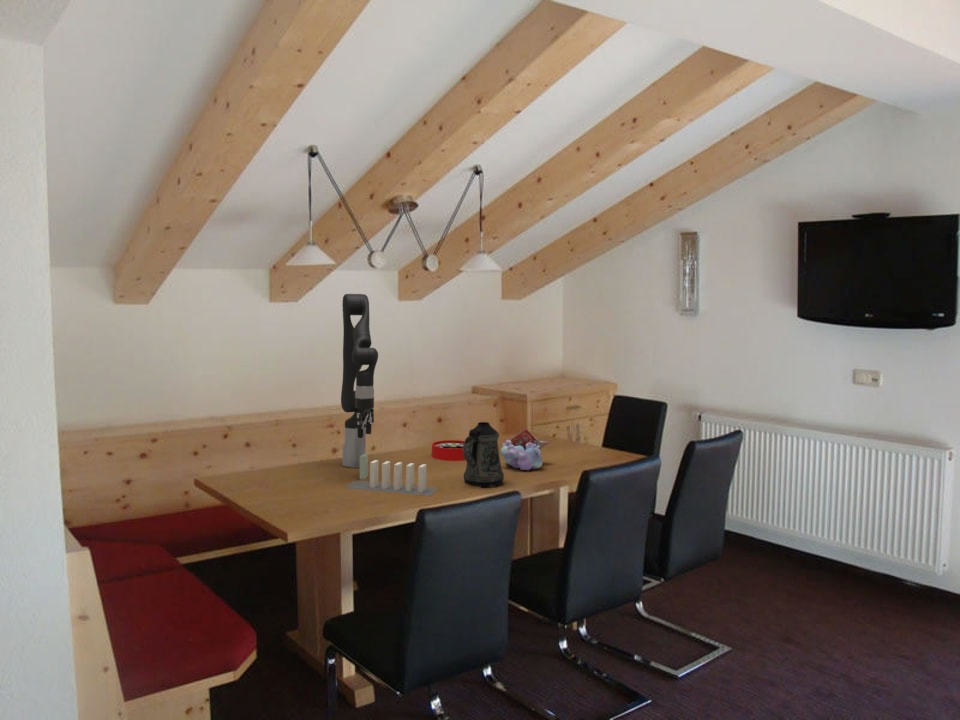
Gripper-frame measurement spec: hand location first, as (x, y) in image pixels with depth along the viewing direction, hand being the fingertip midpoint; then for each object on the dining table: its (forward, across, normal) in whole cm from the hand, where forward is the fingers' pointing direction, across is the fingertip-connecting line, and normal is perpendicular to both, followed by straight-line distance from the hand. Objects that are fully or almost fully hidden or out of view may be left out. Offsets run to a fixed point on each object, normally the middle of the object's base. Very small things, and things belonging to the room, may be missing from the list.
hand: (364, 435), depth 334 cm
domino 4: (+18, +11, +19) cm, 28 cm away
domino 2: (+18, +11, +9) cm, 23 cm away
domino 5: (+18, +11, +24) cm, 32 cm away
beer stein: (+19, -10, +48) cm, 52 cm away
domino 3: (+18, +11, +14) cm, 25 cm away
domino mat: (+18, +11, +16) cm, 27 cm away
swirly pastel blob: (+19, -46, +57) cm, 75 cm away
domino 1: (+18, 0, 0) cm, 18 cm away
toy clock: (+19, -56, +22) cm, 62 cm away
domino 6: (+18, +11, +29) cm, 36 cm away
